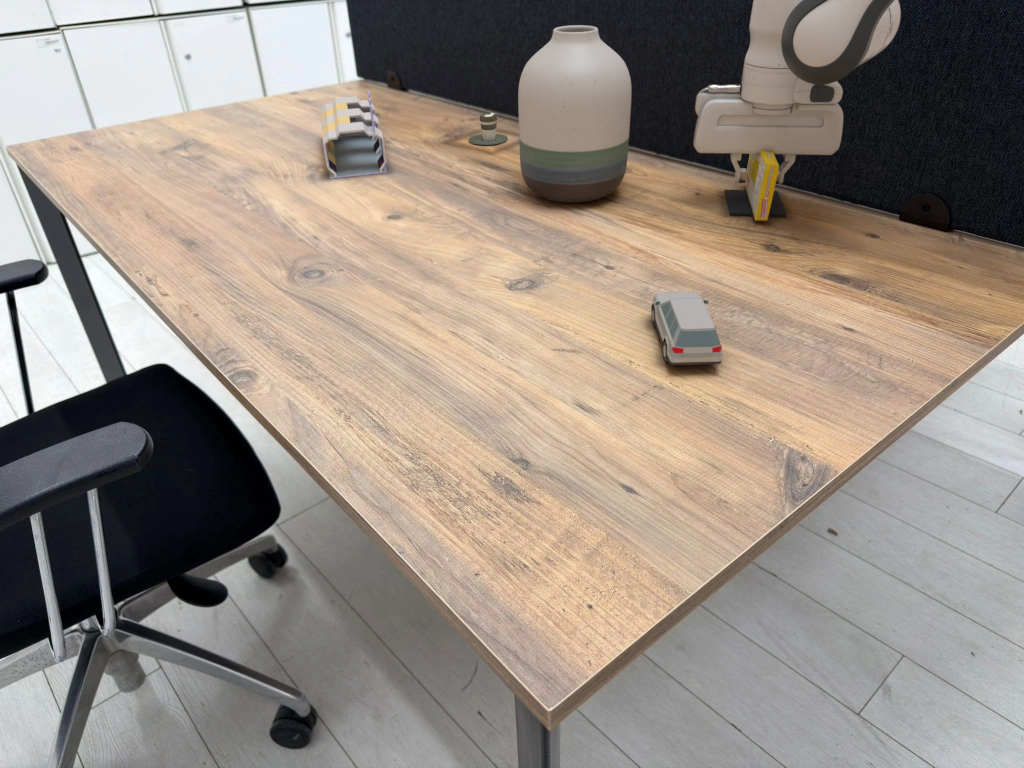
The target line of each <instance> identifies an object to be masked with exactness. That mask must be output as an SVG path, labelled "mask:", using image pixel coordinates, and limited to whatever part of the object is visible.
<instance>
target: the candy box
mask: <svg viewBox="0 0 1024 768" xmlns="http://www.w3.org/2000/svg"><path fill="white" fill-rule="evenodd" d="M748 156H749V157H748V161H747V165H746V166H747V167H746V171H747V176H746V182H745V183H744V186H745V190H746V191H747V194H748V198H749V201H750V204H751V208H752V211H753V215H754V216H753V218H754V221H756V222H766V221H768V219H769V217H768V216H769V211H770V207H771V202H772V198H773V194H774V191H775V190H776V185H777V184H776V180H777V175H778V170H779V167H780V164H779V162H778V160H777V158H776V155H775V154H774V153H773V151H761V152H760V154H748Z"/></svg>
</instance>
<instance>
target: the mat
mask: <svg viewBox="0 0 1024 768" xmlns="http://www.w3.org/2000/svg"><path fill="white" fill-rule="evenodd" d="M724 194H725V195H724V196H725V198H726V199H725V200H726V203H727V209H728V212H729V216H738V217H739V216H740V217H754V215H753V211H752V208H751V204H750V201H749V198H748V194H747V191H746V189H724ZM787 216H788V214H787V211H786V208H785V207H784V203H783V201H782V199H781V196H780V194H779V191H778V190H774V194H773V198H772V202H771V207H770V211H769V216H768V218H771V217H772V218H775V217H776V218H787Z"/></svg>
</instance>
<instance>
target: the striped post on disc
mask: <svg viewBox="0 0 1024 768" xmlns="http://www.w3.org/2000/svg"><path fill="white" fill-rule="evenodd" d="M479 121H480V130H481V134H476V135H473V136H471V137H469V138H468V142H469V143H471V144H472V145H477V146H497V145H502V144H505V143H506V142H508V140H509V137H508V136H506V135H505V134H501V133H496V131H497V121H498V117H497V113H495V112H485V113H484V112H483V113H481V114H480V115H479Z"/></svg>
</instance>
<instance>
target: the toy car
mask: <svg viewBox="0 0 1024 768" xmlns="http://www.w3.org/2000/svg"><path fill="white" fill-rule="evenodd" d="M709 301H710V300H709V299H703V298H701V296H700V294H698V292H692V291H691V292H690V291H663V292H658V293H655V294H654V295H653V299H652V304H651V308H650V311H651V315H650V317H651V324H652V325H653V326H655V328H656V332H657V335H658V338H659V341H660V344H661V347H662V358H663V360H664V361H665V362H666V363H668V364H669V365H670V366H693V365H695V366H696V365H720V364H722V361H723V359H722V358H723V357H722V354H723V353H722V352H723V351H722V349H723V348H722V347H723V346H722V344H721V340H720V338H719V335H718V332H717V329H716V326H715V324H714V322H713V319H712V317H711V315H710V313H709V311H708V309H707V306H706V305H709Z"/></svg>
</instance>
